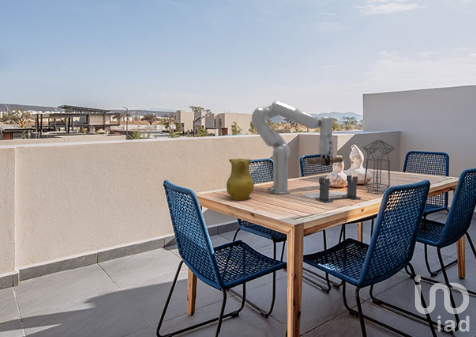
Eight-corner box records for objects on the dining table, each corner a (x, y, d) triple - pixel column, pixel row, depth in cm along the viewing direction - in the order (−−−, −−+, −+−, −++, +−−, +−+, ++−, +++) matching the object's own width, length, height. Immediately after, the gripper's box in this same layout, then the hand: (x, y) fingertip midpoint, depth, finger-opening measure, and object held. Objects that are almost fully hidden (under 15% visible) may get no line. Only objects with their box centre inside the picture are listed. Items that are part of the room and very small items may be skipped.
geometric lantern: (359, 191, 241) (361, 139, 237) (378, 189, 246) (380, 138, 242) (375, 195, 227) (377, 140, 222) (395, 193, 231) (397, 139, 227)
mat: (310, 198, 220) (310, 197, 220) (300, 195, 231) (300, 194, 231) (348, 194, 230) (348, 194, 230) (337, 191, 241) (337, 190, 241)
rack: (324, 202, 208) (325, 179, 206) (315, 199, 217) (315, 177, 216) (360, 198, 217) (361, 176, 216) (350, 195, 227) (350, 174, 225)
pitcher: (221, 199, 217) (222, 158, 215) (232, 195, 235) (233, 157, 233) (248, 202, 212) (249, 160, 210) (257, 197, 229) (259, 158, 227)
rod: (310, 164, 222) (310, 159, 221) (307, 164, 225) (307, 158, 225) (342, 162, 230) (343, 157, 230) (339, 162, 234) (339, 156, 233)
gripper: (338, 136, 219) (338, 166, 221) (323, 135, 235) (323, 163, 237) (328, 136, 217) (328, 166, 219) (313, 136, 232) (313, 164, 234)
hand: (325, 164), depth 228 cm, fingers closed on rod, 3 cm apart
